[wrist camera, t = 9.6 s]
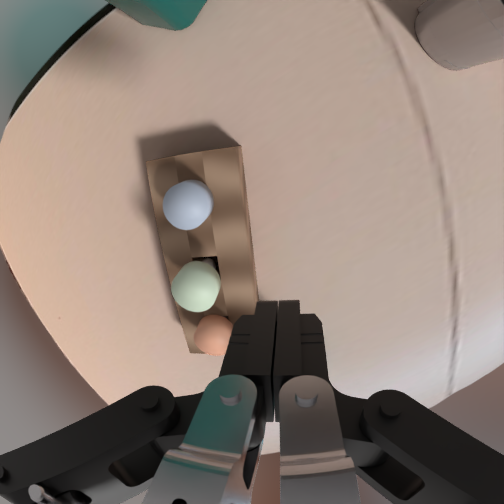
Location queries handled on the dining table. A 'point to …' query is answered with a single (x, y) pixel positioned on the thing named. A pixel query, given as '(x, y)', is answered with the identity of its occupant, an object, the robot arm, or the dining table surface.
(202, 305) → the button sage
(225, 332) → the button terracotta
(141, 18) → the teal green bottle
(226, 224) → the button board
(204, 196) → the button slate
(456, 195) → the dining table surface
